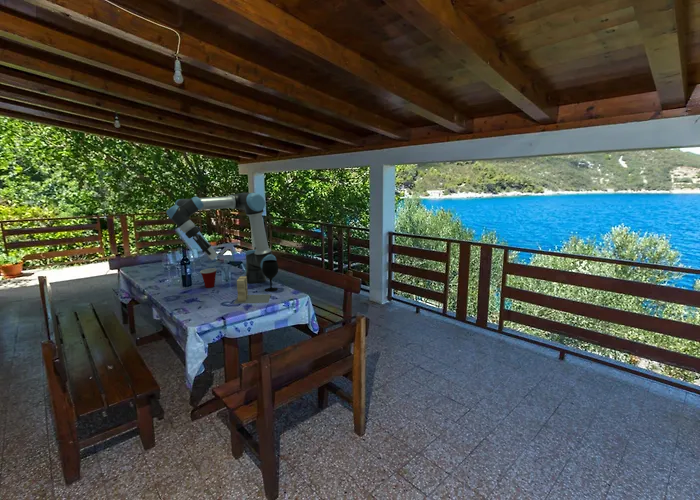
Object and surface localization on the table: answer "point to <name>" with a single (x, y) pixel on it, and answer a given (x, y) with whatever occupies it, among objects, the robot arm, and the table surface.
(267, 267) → the wine glass
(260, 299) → the rubber mat
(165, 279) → the table surface
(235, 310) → the table surface
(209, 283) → the plastic cup
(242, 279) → the oak board
